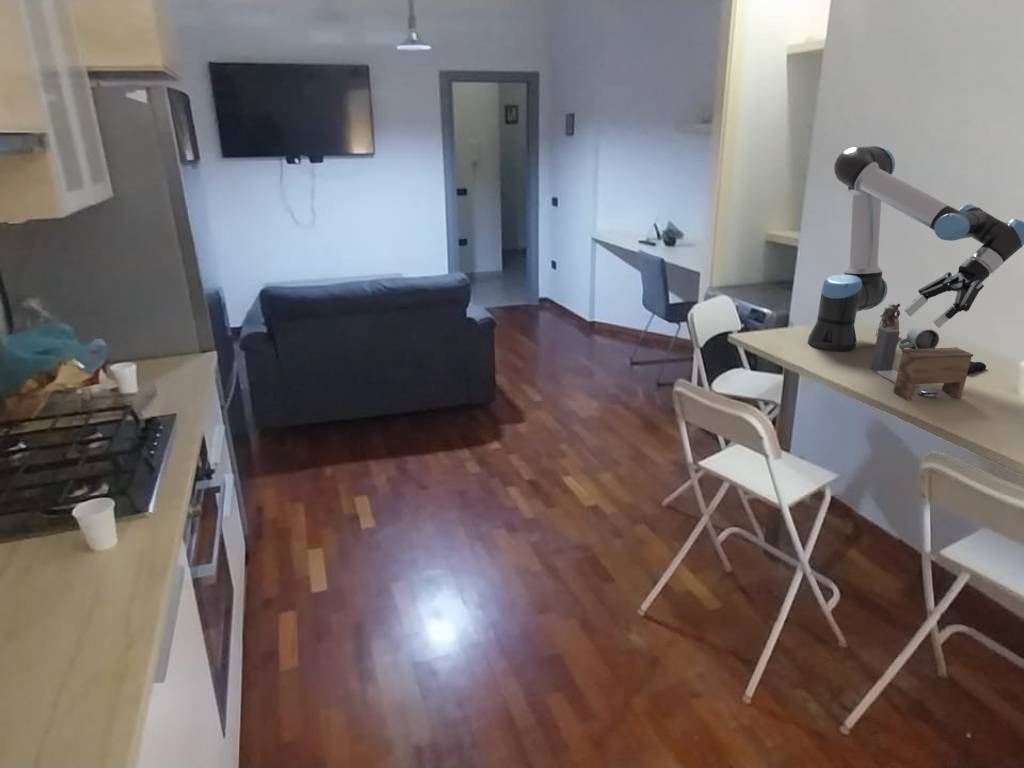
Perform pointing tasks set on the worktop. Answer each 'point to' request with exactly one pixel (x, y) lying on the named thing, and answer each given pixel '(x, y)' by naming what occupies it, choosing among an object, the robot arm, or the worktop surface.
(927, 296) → the robot arm
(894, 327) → the figurine
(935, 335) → the ceramic mug
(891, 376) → the grey block with plate
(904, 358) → the walnut stool
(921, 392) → the dark grey round piece
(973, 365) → the door handle
